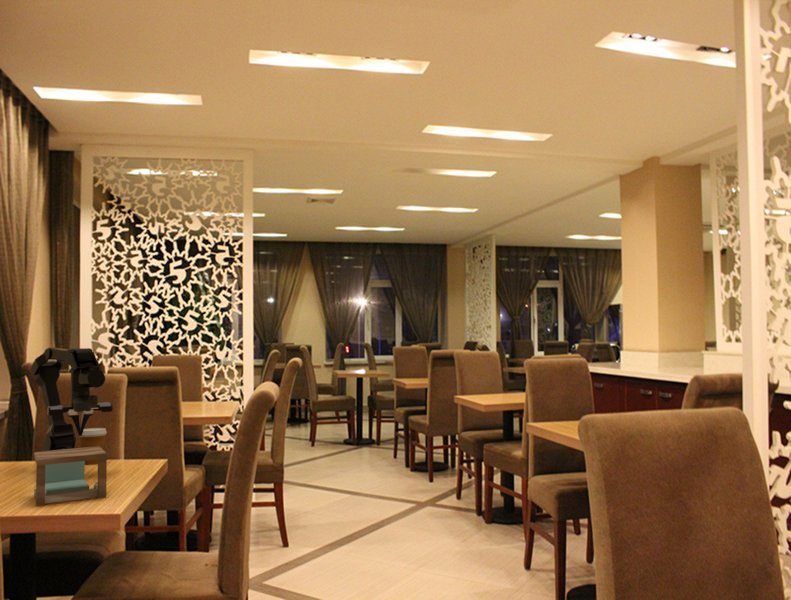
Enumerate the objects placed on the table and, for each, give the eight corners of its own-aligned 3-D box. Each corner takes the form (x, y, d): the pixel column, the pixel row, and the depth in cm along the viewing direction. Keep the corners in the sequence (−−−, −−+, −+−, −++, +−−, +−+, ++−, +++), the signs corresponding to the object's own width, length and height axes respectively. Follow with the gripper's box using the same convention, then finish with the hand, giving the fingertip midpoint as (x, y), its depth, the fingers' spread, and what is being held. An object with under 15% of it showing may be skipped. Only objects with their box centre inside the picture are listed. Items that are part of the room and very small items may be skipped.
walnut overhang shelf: (33, 495, 188) (34, 452, 188) (99, 487, 196) (99, 446, 197) (36, 506, 174) (37, 459, 175) (106, 497, 183) (106, 453, 183)
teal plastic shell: (43, 487, 198) (43, 457, 199) (84, 483, 204) (84, 453, 204) (46, 496, 186) (46, 463, 187) (89, 491, 192) (89, 459, 192)
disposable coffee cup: (79, 466, 232) (79, 431, 233) (76, 462, 240) (76, 429, 241) (108, 463, 237) (109, 429, 238) (104, 459, 245) (104, 427, 246)
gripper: (49, 389, 204) (49, 441, 203) (115, 386, 213) (114, 435, 212) (47, 388, 213) (46, 437, 212) (110, 385, 223) (110, 432, 222)
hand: (80, 435), depth 214 cm, fingers closed
